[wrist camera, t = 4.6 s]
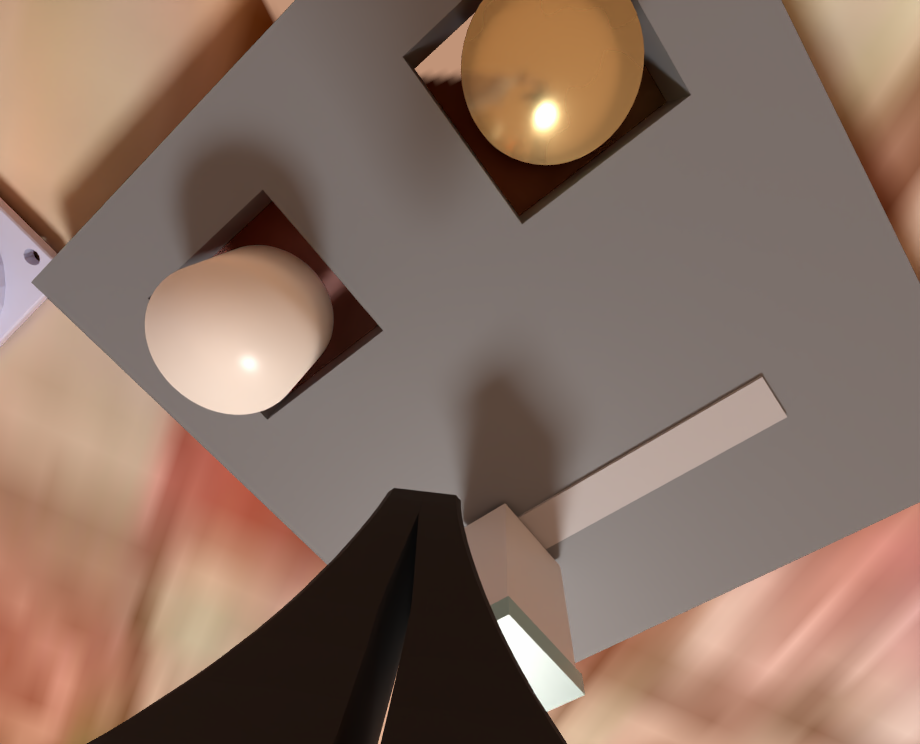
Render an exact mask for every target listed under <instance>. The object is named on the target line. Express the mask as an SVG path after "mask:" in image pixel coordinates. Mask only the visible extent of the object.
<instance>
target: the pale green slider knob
mask: <svg viewBox="0 0 920 744" xmlns="http://www.w3.org/2000/svg"><path fill="white" fill-rule="evenodd" d="M464 529H465V533H466V537H467V541H468V544H469V548H470V551H471V555H472V558H473V560H474V563H475V566H476V569H477V572H478V575H479V578H480V581H481V583H482V586H483V589H484V591H485V594H486V596H487V599H488V601H489V603H490V606H491V608H492V611H493V613H494V615H495V618H496V620H497V622H498V624H499V626H500V628H501V631H502V633H503V635H504V637H505V639H506V641H507V643H508V645H509V647H510V649H511V651H512V653H513V655H514V656H515V658H516V660H517V662H518V664H519V666H520V668H521V670H522V671H523V673H524V675H525V677H526V678H527V680H528V682H529V684H530V686H531V687H532V689H533V691H534V693H535V694H536V696H537V698H538V699H539V701H540V702H541V704H542V705H543V707H544V709H545V710H546V712H548V711H550V710H552V709H554V708H557V707H559V706H561V705H563V704H566V703H568V702H570V701H572V700H575V699H577V698H579V697H581V696H584V695H585V691H584V685H583V679H582V674H581V673H580V672H579V671H578V670H577V669H576V667H575V660H574V653H573V647H572V640H571V634H570V627H569V621H568V614H567V608H566V601H565V595H564V588H563V582H562V575H561V569H560V565H559V564H558V563H557V562H556V561H555V560H554V559H553V557H552V556H551V555H550V554H549V553H548V552H547V551H546V549H545V548H544V547H543V546H542V545H541V544H540V543H539V541H538V540H537V539H536V538H535V537H534V536H533V534H532V533H531V532H530V531H529V530H528V529H527V528H526V526H525V525H524V524H523V523H522V522H521V521H520V520H519V518H518V517H517V516H516V515H515V514H514V513H513V512H512V510H511V509H510V508H509V507H508V506H507V505H506V504H503V505H501V506H500V507H498V508H496V509H495V510H493V511H491V512H490V513H488V514H486V515H484V516H483V517H481V518H479V519H478V520H476V521H474V522H473V523H471V524H469V525H468V526H466V527H464Z"/></svg>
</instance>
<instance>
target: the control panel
mask: <svg viewBox="0 0 920 744" xmlns="http://www.w3.org/2000/svg"><path fill="white" fill-rule="evenodd" d="M482 1H483V0H295V1H294V2H293V3H292V4H291V5H290V6H289V7H288V9H286V10H285V12H284V13H283V14H282V15H281V16H280V17H279V18H278V19H277V20H276V21H275V22H274V23H273V24H272V25H271V26H270V28H269V29H268V30H267V31H266V32H265V33H264V34H263V35H262V36H261V37H260V38H259V39H258V40H257V41H256V42H255V44H254V45H253V46H252V47H251V48H250V49H249V50H248V51H247V52H246V53H245V54H244V55H243V56H242V57H241V58H240V60H239V61H238V62H237V63H236V64H235V65H234V66H233V67H232V68H231V69H230V70H229V71H228V72H227V73H226V75H225V76H224V77H223V78H222V79H221V80H220V81H219V82H218V83H217V84H216V85H215V86H214V87H213V88H212V89H211V91H210V92H209V93H208V94H207V95H206V96H205V97H204V98H203V99H202V100H201V101H200V102H199V103H198V104H197V105H196V107H195V108H194V109H193V110H192V111H191V112H190V113H189V114H188V115H187V116H186V117H185V118H184V119H183V120H182V121H181V123H180V124H179V125H178V126H177V127H176V128H175V129H174V130H173V131H172V132H171V133H170V134H169V135H168V136H167V137H166V139H165V140H164V141H163V142H162V143H161V144H160V145H159V146H158V147H157V148H156V149H155V150H154V151H153V152H152V154H151V155H150V156H149V157H148V158H147V159H146V160H145V161H144V162H143V163H142V164H141V165H140V166H139V167H138V168H137V170H136V171H135V172H134V173H133V174H132V175H131V176H130V177H129V178H128V179H127V180H126V181H125V182H124V183H123V184H122V186H121V187H120V188H119V189H118V190H117V191H116V192H115V193H114V194H113V195H112V196H111V197H110V198H109V199H108V200H107V202H106V203H105V204H104V205H103V206H102V207H101V208H100V209H99V210H98V211H97V212H96V213H95V214H94V215H93V216H92V218H91V219H90V220H89V221H88V222H87V223H86V224H85V225H84V226H83V227H82V228H81V229H80V230H79V231H78V233H77V234H76V235H75V236H74V237H73V238H72V239H71V240H70V241H69V242H68V243H67V244H66V245H65V246H64V247H63V249H62V250H61V251H60V252H59V253H58V254H57V255H56V256H55V257H54V258H53V259H52V260H51V261H50V262H49V263H48V265H47V266H46V267H45V268H44V269H43V270H42V271H41V272H40V273H39V274H38V275H37V276H36V277H35V278H34V279H33V281H32V282H31V283H32V284H33V285H34V286H35V287H36V288H38V289H39V290H40V291H41V292H42V293H43V294H44V295H45V296H46V297H47V298H48V299H49V300H50V301H51V302H52V303H53V304H54V305H55V306H56V307H57V308H59V309H60V310H61V311H62V312H63V313H64V314H65V315H66V316H67V317H68V318H69V319H70V320H71V321H72V322H73V323H74V324H75V325H76V326H77V327H78V328H80V329H81V330H82V331H83V332H84V333H85V334H86V335H87V336H88V337H89V338H90V339H91V340H92V341H93V342H94V343H95V344H96V345H97V346H98V347H99V348H101V349H102V350H103V351H104V352H105V353H106V354H107V355H108V356H109V357H110V358H111V359H112V360H113V361H114V362H115V363H116V364H117V365H118V366H119V367H120V368H121V369H123V370H124V371H125V372H126V373H127V374H128V375H129V376H130V377H131V378H132V379H133V380H134V381H135V382H136V383H137V384H138V385H139V386H140V387H141V388H142V389H144V390H145V391H146V392H147V393H148V394H149V395H150V396H151V397H152V398H153V399H154V400H155V401H156V402H157V403H158V404H159V405H160V406H161V407H162V408H163V409H165V410H166V411H167V412H168V413H169V414H170V415H171V416H172V417H173V418H174V419H175V420H176V421H177V422H178V423H179V424H180V425H181V426H182V427H183V428H184V429H186V430H187V431H188V432H189V433H190V434H191V435H192V436H193V437H194V438H195V439H196V440H197V441H198V442H199V443H200V444H201V445H202V446H203V447H204V448H205V449H207V450H208V451H209V452H210V453H211V454H212V455H213V456H214V457H215V458H216V459H217V460H218V461H219V462H220V463H221V464H222V465H223V466H224V467H225V468H226V469H227V470H229V471H230V472H231V473H232V474H233V475H234V476H235V477H236V478H237V479H238V480H239V481H240V482H241V483H242V484H243V485H244V486H245V487H246V488H247V489H248V490H250V491H251V492H252V493H253V494H254V495H255V496H256V497H257V498H258V499H259V500H260V501H261V502H262V503H263V504H264V505H265V506H266V507H267V508H268V509H269V510H271V511H272V512H273V513H274V514H275V515H276V516H277V517H278V518H279V519H280V520H281V521H282V522H283V523H284V524H285V525H286V526H287V527H288V528H289V529H290V530H292V531H293V532H294V533H295V534H296V535H297V536H298V537H299V538H300V539H301V540H302V541H303V542H304V543H305V544H306V545H307V546H308V547H309V548H310V549H311V550H313V551H314V552H315V553H316V554H317V555H318V556H319V557H320V558H321V559H322V560H323V561H324V562H325V563H326V564H327V565H328V564H329V563H330V562H331V561H332V560H333V559H334V558H335V557H336V556H337V555H338V554H339V552H340V551H341V550H342V549H343V548H344V547H345V546H346V544H347V543H348V542H349V541H350V540H351V539H352V538H353V537H354V535H355V534H356V533H357V532H358V531H359V530H360V529H361V527H362V526H363V525H364V524H365V522H366V521H367V520H368V519H369V518H370V516H371V515H372V514H373V512H374V511H375V510H376V508H377V507H378V506H379V504H380V503H381V502H382V500H383V499H384V497H385V496H386V494H387V493H388V492H389V491H390V490H392V489H393V488H400V489H409V490H417V491H426V492H434V493H443V494H452V495H457V497H458V498H459V499H460V500H461V511H462V518H463V524H464V527H466V526H468V525H469V524H471V523H473V522H474V521H476V520H478V519H479V518H481V517H483V516H484V515H486V514H488V513H490V512H491V511H493V510H495V509H496V508H498V507H500V506H501V505H503V504H506V505H507V506H508V507H509V508H510V509H511V510H512V512H513V513H514V514H515V515H516V516H517V517H518V518H519V520H520V521H521V522H522V523H523V524H524V525H525V526H526V528H527V529H528V530H529V531H530V532H531V533H532V534H533V536H534V537H535V538H536V539H537V540H538V541H539V543H540V544H541V545H542V546H543V547H544V548H545V549H546V551H547V552H548V553H549V554H550V555H551V556H552V557H553V559H554V560H555V561H556V562H557V563H558V564H559V565H560V569H561V575H562V582H563V588H564V595H565V601H566V608H567V614H568V621H569V627H570V634H571V640H572V647H573V653H574V660H575V663H576V662H579V661H581V660H583V659H585V658H587V657H589V656H591V655H594V654H596V653H598V652H600V651H602V650H604V649H606V648H609V647H611V646H613V645H615V644H617V643H619V642H621V641H624V640H626V639H628V638H630V637H632V636H634V635H636V634H639V633H641V632H643V631H645V630H647V629H649V628H651V627H654V626H656V625H658V624H660V623H662V622H664V621H666V620H669V619H671V618H673V617H675V616H677V615H679V614H681V613H684V612H686V611H688V610H690V609H692V608H694V607H696V606H699V605H701V604H703V603H705V602H707V601H709V600H711V599H713V598H716V597H718V596H720V595H722V594H724V593H726V592H728V591H731V590H733V589H735V588H737V587H739V586H741V585H743V584H746V583H748V582H750V581H752V580H754V579H756V578H758V577H761V576H763V575H765V574H767V573H769V572H771V571H773V570H776V569H778V568H780V567H782V566H784V565H786V564H788V563H791V562H793V561H795V560H797V559H799V558H801V557H803V556H806V555H808V554H810V553H812V552H814V551H816V550H818V549H821V548H823V547H825V546H827V545H829V544H831V543H833V542H836V541H838V540H840V539H842V538H844V537H846V536H848V535H851V534H853V533H855V532H857V531H859V530H861V529H863V528H865V527H868V526H870V525H872V524H874V523H876V522H878V521H880V520H883V519H885V518H887V517H889V516H891V515H893V514H895V513H898V512H900V511H902V510H904V509H906V508H908V507H910V506H913V505H915V504H917V503H919V502H920V283H919V281H918V279H917V276H916V274H915V272H914V270H913V268H912V266H911V264H910V262H909V260H908V258H907V256H906V254H905V252H904V250H903V248H902V246H901V244H900V242H899V240H898V238H897V236H896V234H895V232H894V230H893V227H892V225H891V223H890V221H889V219H888V217H887V215H886V213H885V211H884V209H883V207H882V205H881V203H880V201H879V199H878V197H877V195H876V193H875V191H874V189H873V187H872V185H871V183H870V180H869V178H868V176H867V174H866V172H865V170H864V168H863V166H862V164H861V162H860V160H859V158H858V156H857V154H856V152H855V150H854V148H853V146H852V144H851V142H850V140H849V138H848V136H847V133H846V131H845V129H844V127H843V125H842V123H841V121H840V119H839V117H838V115H837V113H836V111H835V109H834V107H833V105H832V103H831V101H830V99H829V97H828V95H827V93H826V91H825V89H824V86H823V84H822V82H821V80H820V78H819V76H818V74H817V72H816V70H815V68H814V66H813V64H812V62H811V60H810V58H809V56H808V54H807V52H806V50H805V48H804V46H803V44H802V42H801V40H800V37H799V35H798V33H797V31H796V29H795V27H794V25H793V23H792V21H791V19H790V17H789V15H788V13H787V11H786V9H785V7H784V5H783V3H782V1H781V0H631V2H632V4H633V6H634V8H635V10H636V12H637V15H638V18H639V21H640V24H641V29H642V34H643V40H644V64H645V66H646V67H647V69H648V71H649V72H650V74H651V76H652V78H653V79H654V81H655V83H656V84H657V86H658V88H659V90H660V91H661V93H662V95H663V97H664V98H665V100H666V103H665V104H664V105H662V106H661V107H660V108H659V109H657V110H656V111H655V112H653V113H652V114H651V115H649V116H648V117H647V118H646V119H644V120H643V121H642V122H640V123H639V124H638V125H637V126H635V127H634V128H633V129H631V130H630V131H629V132H627V133H626V134H625V135H624V136H622V137H621V138H620V139H618V140H617V141H616V142H615V143H613V144H612V145H611V146H609V147H608V148H607V149H606V150H604V151H603V152H602V153H600V154H599V155H598V156H596V157H595V158H594V159H593V160H591V161H590V162H589V163H587V164H586V165H585V166H584V167H582V168H581V169H580V170H578V171H577V172H576V173H574V174H573V175H572V176H571V177H569V178H568V179H567V180H565V181H564V182H563V183H562V184H560V185H559V186H558V187H556V188H555V189H554V190H552V191H551V192H550V193H549V194H547V195H546V196H545V197H543V198H542V199H541V200H540V201H538V202H537V203H536V204H534V205H533V206H532V207H530V208H529V209H528V210H527V211H525V212H524V213H523V214H521V215H520V216H519V215H518V214H517V212H516V211H515V210H514V208H513V207H512V205H511V204H510V203H509V201H508V200H507V198H506V197H505V196H504V194H503V193H502V191H501V190H500V189H499V187H498V186H497V184H496V183H495V182H494V180H493V179H492V177H491V176H490V175H489V173H488V172H487V170H486V169H485V168H484V166H483V165H482V163H481V162H480V161H479V159H478V158H477V156H476V155H475V153H474V152H473V151H472V149H471V148H470V146H469V145H468V144H467V142H466V141H465V139H464V138H463V137H462V135H461V134H460V132H459V131H458V130H457V128H456V127H455V125H454V124H453V123H452V121H451V120H450V118H449V117H448V116H447V114H446V113H445V111H444V110H443V109H442V107H441V106H440V104H439V103H438V102H437V100H436V99H435V97H434V96H433V95H432V93H431V92H430V90H429V89H428V87H427V86H426V85H425V83H424V82H423V80H422V79H421V78H420V76H419V75H418V73H417V72H416V71H415V68H416V67H417V66H418V65H419V64H420V63H421V62H422V61H423V60H424V59H425V58H427V56H429V55H430V54H431V53H432V52H433V51H434V50H435V49H436V48H437V47H438V46H439V45H440V44H442V42H443V41H445V40H446V39H447V38H448V37H449V36H450V35H451V34H452V33H453V32H454V31H455V30H457V29H458V28H459V27H460V26H461V25H462V24H463V23H464V22H465V21H466V20H467V19H468V18H469V17H470V16H472V15H473V14H474V13H475V12H476V10H477V9H478V7H479V5H480V3H481V2H482ZM272 201H273V202H274V203H275V204H276V206H277V207H278V208H279V209H280V210H281V211H282V213H283V214H284V215H285V216H286V217H287V218H288V220H289V221H290V222H291V223H292V224H293V226H294V227H295V228H296V229H297V230H298V231H299V233H300V234H301V235H302V236H303V237H304V238H305V240H306V241H307V242H308V243H309V244H310V245H311V247H312V248H313V249H314V250H315V251H316V252H317V254H318V255H319V256H320V257H321V258H322V259H323V261H324V262H325V263H326V264H327V265H328V267H329V268H330V269H331V270H332V271H333V272H334V274H335V275H336V276H337V277H338V278H339V279H340V281H341V282H342V283H343V284H344V285H345V286H346V288H347V289H348V290H349V291H350V292H351V293H352V295H353V296H354V297H355V298H356V299H357V301H358V302H359V303H360V304H361V305H362V306H363V308H364V309H365V310H366V311H367V312H368V313H369V315H370V316H371V317H372V318H373V319H374V320H375V322H376V323H377V324H378V326H377V327H375V328H374V329H373V330H371V331H370V332H369V333H367V334H366V335H365V336H364V337H362V338H361V339H360V340H358V341H357V342H356V343H355V344H353V345H352V346H351V347H349V348H348V349H347V350H346V351H344V352H343V353H342V354H340V355H339V356H338V357H336V358H335V359H334V360H333V361H331V362H330V363H329V364H327V365H326V366H325V367H324V368H322V369H321V370H320V371H318V372H317V373H316V374H314V375H313V376H312V377H311V378H309V379H308V380H307V381H305V382H304V383H303V384H302V385H300V386H299V387H298V388H296V389H295V390H294V391H292V392H291V393H288V394H287V395H286V396H285V397H284V398H283V399H282V400H281V401H280V402H278V403H277V404H275V405H274V406H272V407H270V408H268V409H266V410H263V411H260V412H257V413H252V414H245V415H233V414H225V413H220V412H216V411H212V410H209V409H207V408H204V407H202V406H200V405H198V404H196V403H194V402H192V401H191V400H189V399H188V398H186V397H185V396H183V395H182V394H181V393H179V392H178V391H177V390H176V389H175V388H174V387H173V386H172V385H171V384H170V383H169V382H168V381H167V380H166V379H165V377H164V376H163V375H162V373H161V372H160V371H159V369H158V367H157V366H156V364H155V362H154V360H153V358H152V356H151V354H150V351H149V348H148V345H147V340H146V335H145V314H146V310H147V306H148V303H149V300H150V298H151V296H152V294H153V292H154V291H155V289H156V288H157V286H158V285H159V284H160V283H161V282H162V281H163V280H164V279H165V278H167V277H168V276H169V275H170V274H172V273H174V272H176V271H177V270H180V269H182V268H185V267H188V266H190V265H193V264H196V263H199V262H201V261H204V260H207V259H209V258H212V257H213V256H214V255H215V254H216V253H217V252H218V251H219V250H220V249H221V248H223V247H224V246H225V245H226V244H227V243H228V242H229V241H230V240H231V239H232V238H233V237H234V236H235V235H237V234H238V233H239V232H240V231H241V230H242V229H243V228H244V227H245V226H246V225H247V224H248V223H249V222H250V221H252V220H253V219H254V218H255V217H256V216H257V215H258V214H259V213H260V212H261V211H262V210H263V209H264V208H265V207H267V206H268V205H269V204H270V203H271V202H272Z"/></svg>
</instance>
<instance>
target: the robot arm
mask: <svg viewBox="0 0 920 744" xmlns="http://www.w3.org/2000/svg"><path fill="white" fill-rule="evenodd" d="M33 251H36V252H37V253H38V255H39V257H40V262H39V261H38V260H37V259H36V258H35V256H34V252H33ZM56 255H57V253H56V252H55V251H54V250H53V249H52V248H51V247H50V246H49V245H48V244H47V243H46V242H45V241H44V240H43V239H42V238H41V237H40V236H39V235H38V234H37V233H36V232H35V231H34V230H33V229H32V228H31V227H30V226H29V225H28V224H27V223H26V222H25V221H24V220H23V219H22V218H21V217H20V216H19V215H18V214H17V213H16V212H14V211H13V210H12V209H11V208H10V207H9V206H8V205H7V204H6V203H5V202H4V201H3V200H2V199H1V198H0V347H1V346H2V345H3V343H4V342H5V341H6V340H7V339H8V338H9V337H10V336H11V335H12V334H13V333H14V332H15V331H16V330H17V329H18V328H19V327H20V326H21V325H22V324H23V323H24V322H25V321H26V320H27V319H28V318H29V317H30V315H31V314H32V313H33V312H34V311H35V310H36V309H37V308H38V307H39V306H40V305H41V304H42V303H43V302H44V301H45V300H46V299H47V297H46V296H45V295H44V294H43V293H42V292H41V291H40V290H39V289H38V288H36V287H35V286H34V285H33V284H32V283H31V282H32V281H33V279H34V278H35V277H36V276H37V275H38V274H39V273H40V272H41V271H42V270H43V269H44V268H45V267H46V266H47V265H48V263H49V262H50V261H51V260H52V259H53V258H54V257H55V256H56ZM398 666H399V667H398ZM397 670H398V671H397ZM396 674H397V676H396ZM395 677H396V680H395ZM394 681H395V685H394ZM393 685H394V689H393ZM392 689H393V694H392V698H391V703H390V707H389V711H388V715H387V720H386V724H385V728H384V732H383V736H382V741H381V744H567V743H566V741H565V740H564V738H563V737H562V735H561V733H560V732H559V730H558V729H557V727H556V726H555V724H554V723H553V721H552V719H551V718H550V716H549V715H548V713H547V712H546V710H545V709H544V707H543V705H542V704H541V702H540V701H539V699H538V698H537V696H536V694H535V693H534V691H533V689H532V687H531V686H530V684H529V682H528V680H527V678H526V677H525V675H524V673H523V671H522V670H521V668H520V666H519V664H518V662H517V660H516V658H515V656H514V655H513V653H512V651H511V649H510V647H509V645H508V643H507V641H506V639H505V637H504V635H503V633H502V631H501V628H500V626H499V624H498V622H497V620H496V618H495V615H494V613H493V611H492V608H491V606H490V603H489V601H488V599H487V596H486V594H485V591H484V589H483V586H482V583H481V581H480V578H479V575H478V572H477V569H476V566H475V563H474V560H473V558H472V555H471V551H470V548H469V544H468V541H467V537H466V533H465V529H464V524H463V518H462V511H461V500H460V499H459V498H458V497H457V495H452V494H443V493H434V492H426V491H417V490H409V489H400V488H393V489H392V490H390V491H389V492H388V493H387V494H386V496H385V497H384V499H383V500H382V502H381V503H380V504H379V506H378V507H377V508H376V510H375V511H374V512H373V514H372V515H371V516H370V518H369V519H368V520H367V521H366V522H365V524H364V525H363V526H362V527H361V529H360V530H359V531H358V532H357V533H356V534H355V535H354V537H353V538H352V539H351V540H350V541H349V542H348V543H347V544H346V546H345V547H344V548H343V549H342V550H341V551H340V552H339V554H338V555H337V556H336V557H335V558H334V559H333V560H332V561H331V562H330V563H329V564H328V565H327V566H326V567H325V568H324V569H323V570H322V571H321V572H320V573H319V574H318V575H317V576H316V577H315V578H314V579H313V580H312V581H311V582H310V583H309V584H308V585H307V586H306V587H305V588H304V589H303V590H302V591H301V592H300V593H299V594H297V595H296V596H295V597H294V598H293V599H292V600H291V601H290V602H289V603H288V604H286V605H285V606H284V607H283V608H282V609H281V610H280V611H278V612H277V613H276V614H275V615H274V616H273V617H271V618H270V619H269V620H268V621H267V622H265V623H264V624H263V625H262V626H261V627H259V628H258V629H257V630H256V631H255V632H253V633H252V634H251V635H249V636H248V637H247V638H245V639H244V640H243V641H242V642H240V643H239V644H238V645H236V646H235V647H234V648H232V649H231V650H230V651H229V652H227V653H226V654H225V655H223V656H222V657H221V658H219V659H218V660H217V661H215V662H214V663H212V664H211V665H210V666H208V667H207V668H206V669H204V670H203V671H201V672H200V673H198V674H197V675H196V676H194V677H193V678H191V679H190V680H188V681H187V682H185V683H184V684H182V685H180V686H179V687H177V688H176V689H174V690H173V691H171V692H170V693H168V694H167V695H165V696H164V697H162V698H161V699H159V700H158V701H156V702H154V703H153V704H151V705H150V706H148V707H147V708H145V709H144V710H142V711H141V712H139V713H138V714H136V715H135V716H133V717H131V718H130V719H128V720H126V721H125V722H123V723H122V724H120V725H118V726H117V727H115V728H113V729H112V730H110V731H108V732H107V733H105V734H103V735H101V736H100V737H98V738H96V739H94V740H92V741H91V742H89V743H87V744H378V740H379V737H380V733H381V729H382V726H383V722H384V718H385V714H386V711H387V707H388V703H389V700H390V696H391V692H392Z"/></svg>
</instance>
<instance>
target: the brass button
mask: <svg viewBox="0 0 920 744" xmlns="http://www.w3.org/2000/svg"><path fill="white" fill-rule="evenodd" d="M643 67H644V40H643V34H642V29H641V24H640V21H639V18H638V15H637V12H636V10H635V8H634V6H633V4H632V2H631V0H483V1H482V2H481V3H480V5H479V7H478V9H477V10H476V12H475V14H474V16H473V18H472V20H471V23H470V25H469V28H468V30H467V34H466V37H465V41H464V46H463V51H462V60H461V78H462V87H463V92H464V97H465V100H466V103H467V106H468V109H469V111H470V114H471V116H472V118H473V120H474V122H475V123H476V125H477V127H478V128H479V130H480V131H481V133H482V134H483V135H484V136H485V138H486V139H487V140H488V141H489V142H490V143H491V144H492V145H493V146H494V147H495V148H496V149H498V150H499V151H500V152H502V153H503V154H505V155H507V156H509V157H511V158H514V159H516V160H519V161H522V162H526V163H531V164H536V165H555V164H561V163H566V162H570V161H573V160H575V159H578V158H581V157H583V156H585V155H586V154H588V153H590V152H592V151H593V150H595V149H596V148H598V147H599V146H601V145H602V144H603V143H604V142H605V141H606V140H607V139H609V138H610V137H611V136H612V134H613V133H614V132H615V131H616V130H617V129H618V128H619V126H620V125H621V124H622V122H623V121H624V119H625V118H626V116H627V115H628V113H629V111H630V109H631V107H632V105H633V103H634V101H635V98H636V96H637V93H638V90H639V86H640V83H641V79H642V73H643Z"/></svg>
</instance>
